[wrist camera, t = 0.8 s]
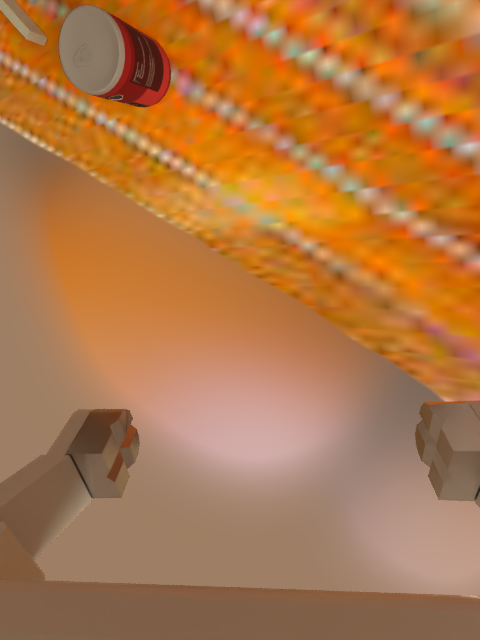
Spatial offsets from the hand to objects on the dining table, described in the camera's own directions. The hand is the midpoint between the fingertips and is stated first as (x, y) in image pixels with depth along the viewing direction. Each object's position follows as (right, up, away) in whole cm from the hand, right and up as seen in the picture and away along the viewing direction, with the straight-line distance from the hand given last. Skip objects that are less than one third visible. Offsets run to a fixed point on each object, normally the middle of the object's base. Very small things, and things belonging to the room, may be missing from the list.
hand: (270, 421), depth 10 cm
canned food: (-13, +35, +37) cm, 52 cm away
